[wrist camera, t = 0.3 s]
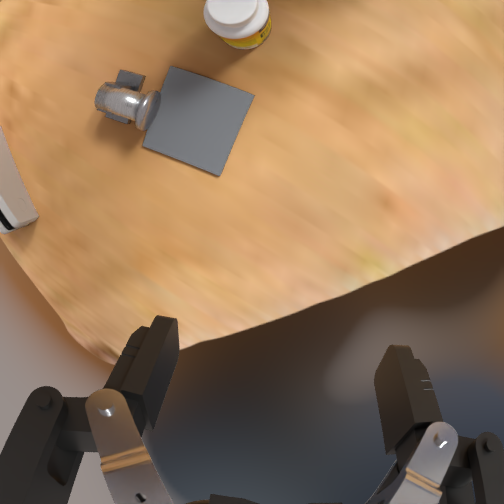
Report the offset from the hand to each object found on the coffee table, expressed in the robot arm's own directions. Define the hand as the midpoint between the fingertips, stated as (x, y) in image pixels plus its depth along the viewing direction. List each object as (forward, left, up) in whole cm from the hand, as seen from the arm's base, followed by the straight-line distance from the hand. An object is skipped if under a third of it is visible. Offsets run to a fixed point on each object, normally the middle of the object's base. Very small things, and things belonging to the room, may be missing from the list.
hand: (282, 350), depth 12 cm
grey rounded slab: (+15, -37, -28) cm, 49 cm away
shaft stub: (-1, -19, -27) cm, 33 cm away
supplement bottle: (-13, -10, -28) cm, 32 cm away
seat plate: (-1, -11, -27) cm, 30 cm away
